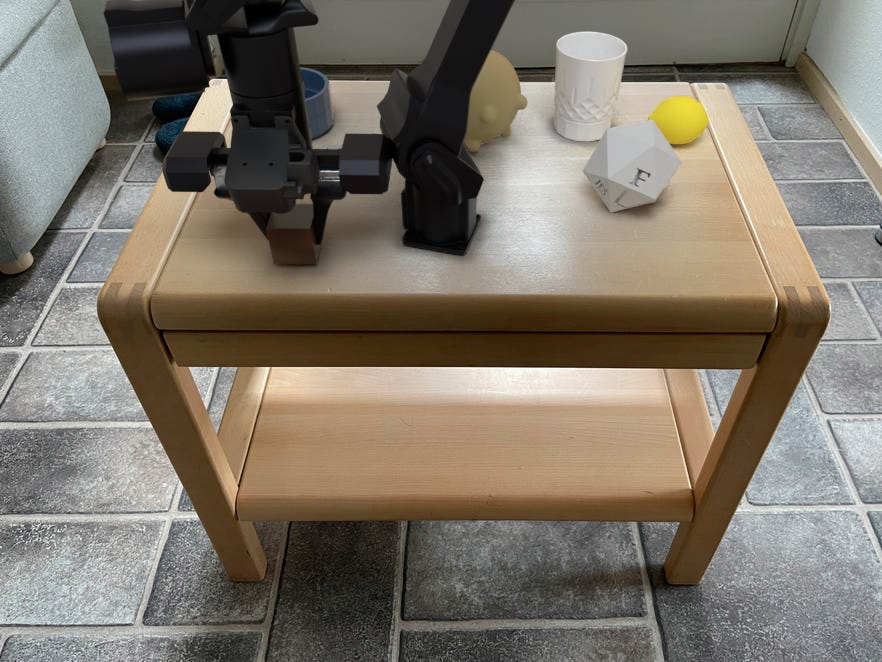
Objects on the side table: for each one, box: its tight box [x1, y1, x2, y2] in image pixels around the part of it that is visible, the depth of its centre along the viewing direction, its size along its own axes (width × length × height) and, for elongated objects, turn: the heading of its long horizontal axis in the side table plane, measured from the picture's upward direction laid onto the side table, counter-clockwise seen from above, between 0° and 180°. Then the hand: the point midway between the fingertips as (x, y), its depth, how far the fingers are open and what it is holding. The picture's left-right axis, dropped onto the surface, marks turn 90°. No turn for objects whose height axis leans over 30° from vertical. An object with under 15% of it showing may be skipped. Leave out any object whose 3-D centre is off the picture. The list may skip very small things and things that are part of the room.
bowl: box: [300, 66, 335, 140], centre depth 88 cm, size 10×10×5 cm
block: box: [266, 203, 322, 265], centre depth 70 cm, size 4×4×4 cm
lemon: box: [647, 95, 710, 145], centre depth 86 cm, size 7×5×5 cm
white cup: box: [553, 31, 628, 143], centre depth 86 cm, size 8×8×10 cm
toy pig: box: [463, 49, 529, 153], centre depth 85 cm, size 10×12×11 cm
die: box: [582, 119, 683, 213], centre depth 76 cm, size 8×9×10 cm
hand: (296, 242), depth 70 cm, fingers closed on block, 4 cm apart
